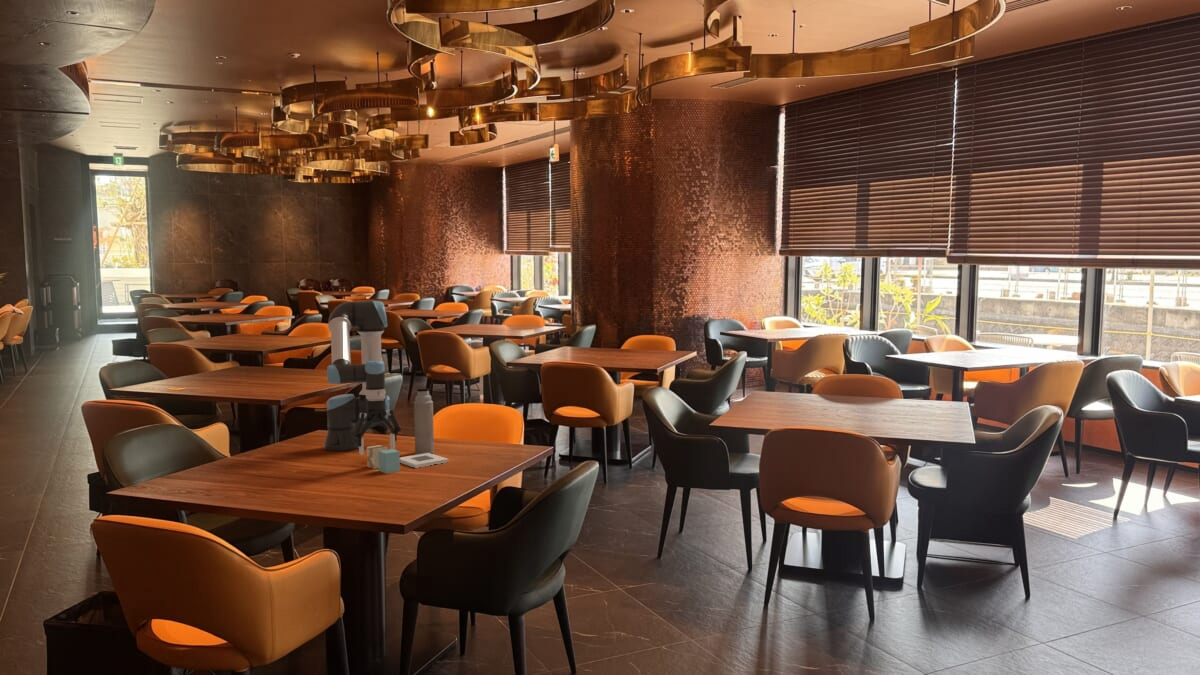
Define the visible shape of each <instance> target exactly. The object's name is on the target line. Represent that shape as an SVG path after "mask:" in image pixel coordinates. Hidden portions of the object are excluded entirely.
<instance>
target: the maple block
mask: <svg viewBox="0 0 1200 675" xmlns="http://www.w3.org/2000/svg"><path fill="white" fill-rule="evenodd" d="M388 449H389V448H388V446H385V445H383V444H380V445H373V446H366V466H367V468H369V469H372V470H377V469H378V470H379V455H378V451H382V450H388Z"/></svg>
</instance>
